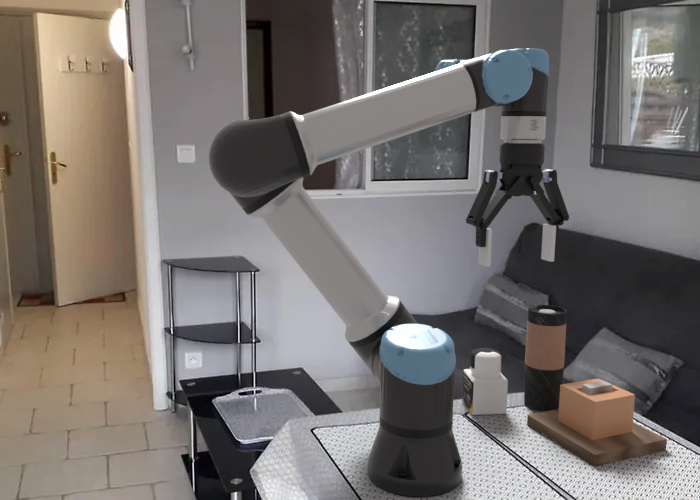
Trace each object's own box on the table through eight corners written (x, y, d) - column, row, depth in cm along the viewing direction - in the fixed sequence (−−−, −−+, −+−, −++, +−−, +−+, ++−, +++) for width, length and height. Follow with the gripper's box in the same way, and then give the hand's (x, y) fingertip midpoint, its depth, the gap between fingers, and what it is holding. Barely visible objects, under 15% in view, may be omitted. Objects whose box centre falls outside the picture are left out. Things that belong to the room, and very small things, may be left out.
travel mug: (563, 413, 138) (569, 315, 135) (523, 410, 140) (528, 312, 137) (559, 399, 146) (565, 305, 143) (522, 396, 147) (526, 303, 144)
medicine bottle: (461, 401, 144) (463, 345, 142) (495, 400, 145) (498, 344, 143) (471, 415, 137) (473, 356, 135) (506, 414, 138) (509, 355, 136)
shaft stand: (594, 466, 117) (598, 409, 115) (527, 424, 133) (529, 374, 131) (665, 449, 123) (670, 395, 121) (593, 412, 139) (596, 363, 138)
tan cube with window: (592, 440, 122) (595, 402, 121) (558, 420, 130) (560, 384, 129) (631, 431, 126) (634, 394, 124) (595, 413, 134) (598, 378, 132)
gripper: (473, 142, 113) (468, 271, 117) (594, 142, 123) (586, 261, 126) (448, 141, 120) (444, 263, 123) (565, 141, 130) (558, 254, 133)
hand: (516, 262), depth 125 cm, fingers open, 13 cm apart
